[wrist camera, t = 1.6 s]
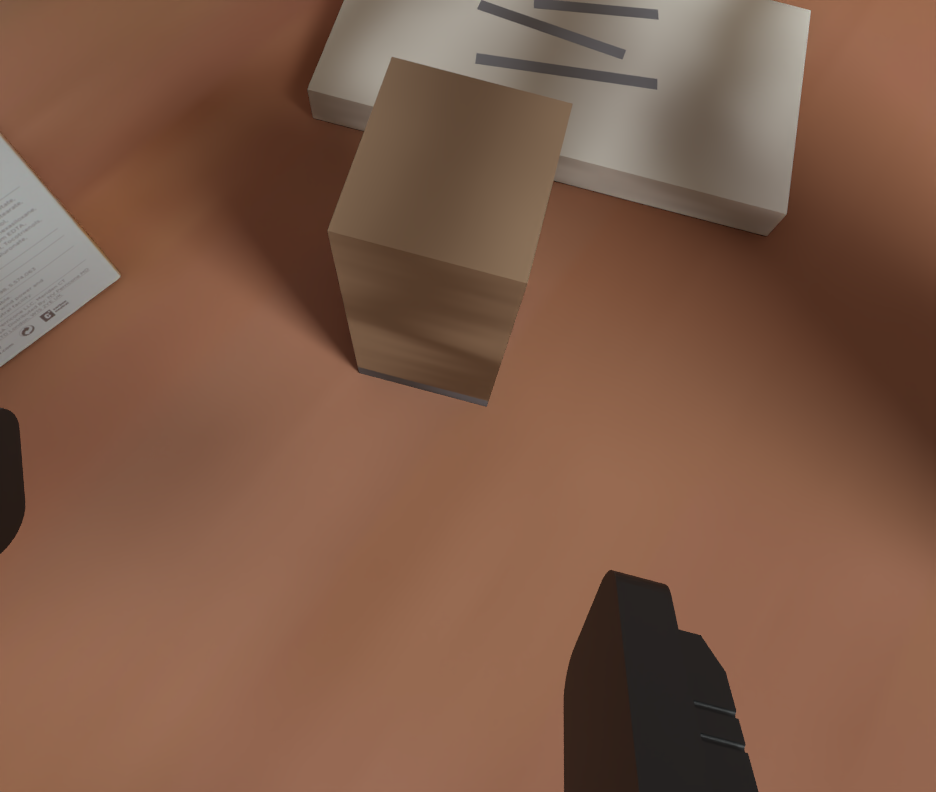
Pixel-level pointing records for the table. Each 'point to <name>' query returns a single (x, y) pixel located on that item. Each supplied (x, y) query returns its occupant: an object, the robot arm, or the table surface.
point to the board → (610, 88)
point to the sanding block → (443, 225)
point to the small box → (40, 258)
